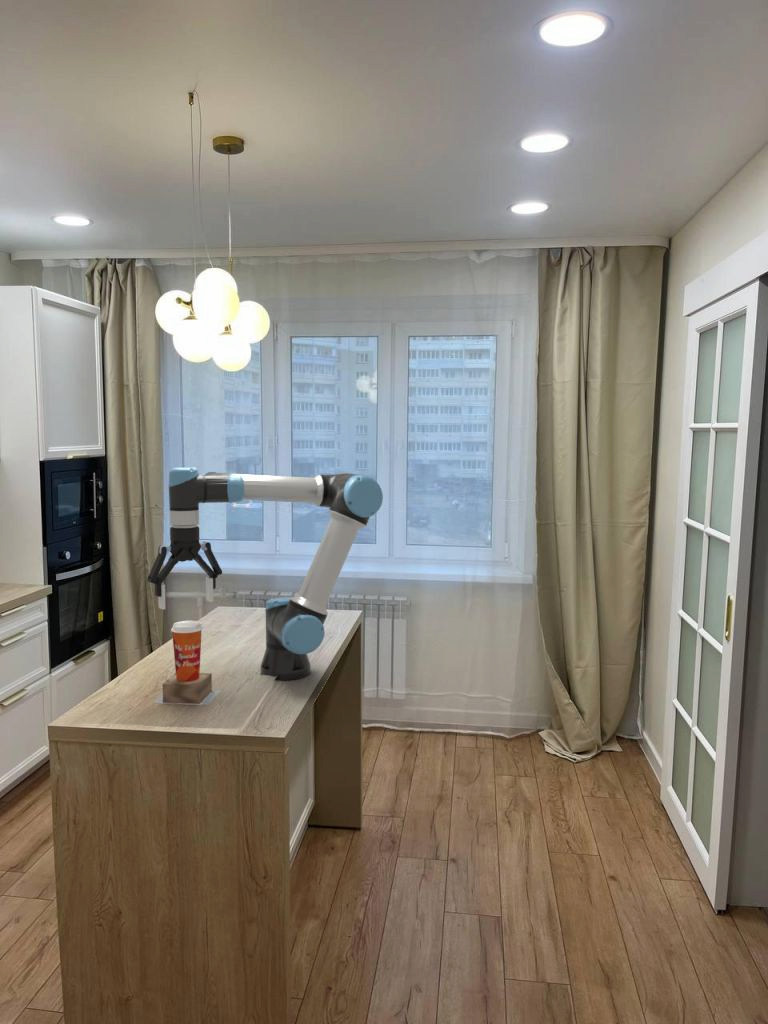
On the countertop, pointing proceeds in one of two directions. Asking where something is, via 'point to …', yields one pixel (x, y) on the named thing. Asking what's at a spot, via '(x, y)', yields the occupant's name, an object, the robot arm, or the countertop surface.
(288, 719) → the countertop surface
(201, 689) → the pedestal
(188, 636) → the coffee cup
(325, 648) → the countertop surface
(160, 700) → the build plate
